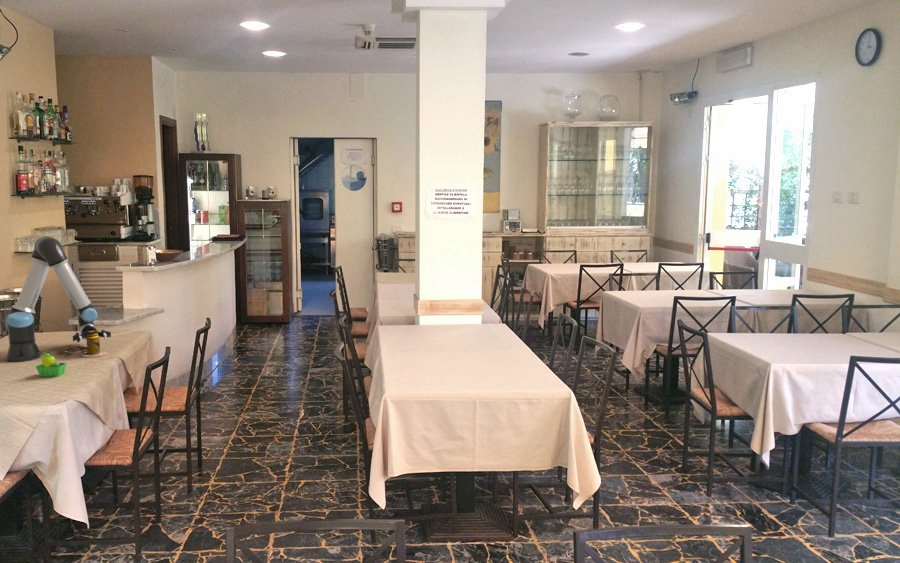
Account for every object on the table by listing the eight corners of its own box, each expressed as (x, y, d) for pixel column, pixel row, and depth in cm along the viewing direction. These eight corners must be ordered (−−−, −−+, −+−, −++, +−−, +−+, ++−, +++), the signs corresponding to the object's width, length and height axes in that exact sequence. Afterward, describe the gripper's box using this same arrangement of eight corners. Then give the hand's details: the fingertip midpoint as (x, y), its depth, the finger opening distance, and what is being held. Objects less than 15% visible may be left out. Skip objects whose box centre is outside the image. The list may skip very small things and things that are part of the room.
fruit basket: (68, 373, 356) (66, 350, 355) (57, 378, 348) (55, 354, 346) (45, 373, 357) (43, 349, 355) (34, 378, 348) (31, 354, 347)
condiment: (102, 353, 391) (100, 331, 390) (85, 356, 386) (83, 333, 384) (98, 351, 397) (96, 329, 395) (81, 353, 392) (79, 331, 390)
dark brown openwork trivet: (71, 356, 391) (71, 353, 390) (57, 353, 396) (56, 350, 396) (94, 350, 402) (94, 347, 402) (79, 348, 408) (79, 345, 408)
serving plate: (91, 358, 384) (91, 357, 384) (76, 356, 390) (76, 354, 390) (111, 353, 395) (111, 352, 394) (96, 351, 400) (96, 350, 400)
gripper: (112, 335, 413) (118, 343, 394) (65, 341, 401) (69, 349, 382) (111, 322, 412) (117, 329, 393) (64, 327, 399) (68, 334, 381)
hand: (93, 339), depth 387 cm, fingers open, 11 cm apart
